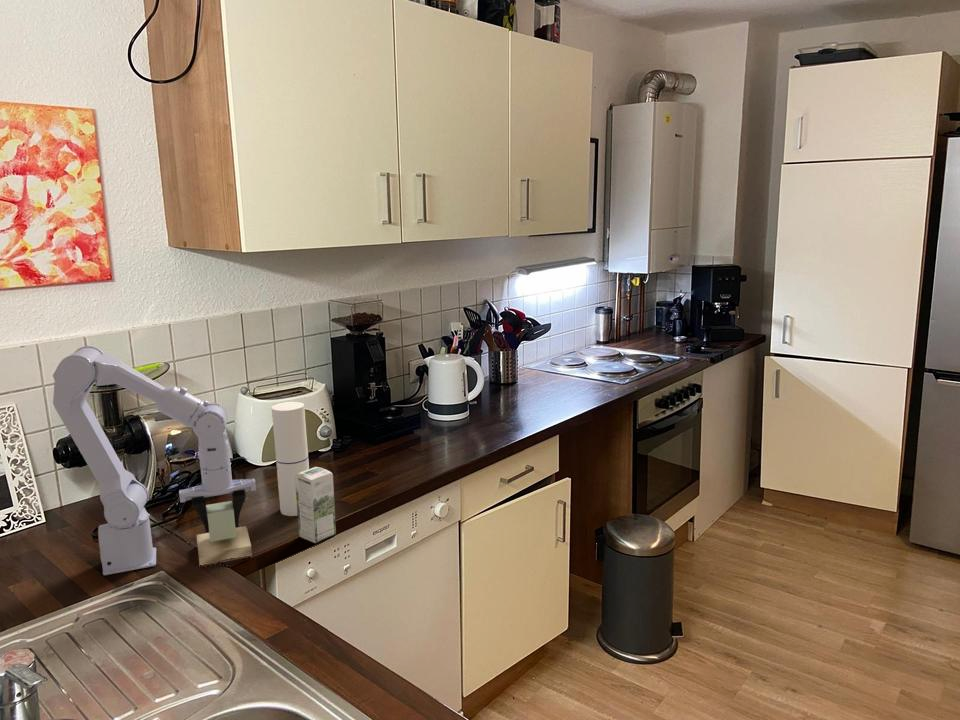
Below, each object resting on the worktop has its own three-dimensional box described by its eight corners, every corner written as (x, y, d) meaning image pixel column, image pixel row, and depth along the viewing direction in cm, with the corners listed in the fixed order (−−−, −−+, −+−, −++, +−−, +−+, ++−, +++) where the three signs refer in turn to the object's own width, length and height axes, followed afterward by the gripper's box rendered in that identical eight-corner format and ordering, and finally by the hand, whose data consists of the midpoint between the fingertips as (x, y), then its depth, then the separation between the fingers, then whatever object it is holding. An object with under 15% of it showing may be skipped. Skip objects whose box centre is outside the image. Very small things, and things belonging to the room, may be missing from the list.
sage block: (210, 541, 150) (207, 513, 149) (209, 532, 155) (206, 505, 154) (236, 537, 152) (233, 509, 151) (234, 527, 157) (231, 500, 156)
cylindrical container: (292, 518, 169) (283, 412, 164) (274, 510, 174) (265, 406, 168) (318, 508, 174) (310, 405, 169) (300, 500, 179) (292, 400, 173)
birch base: (200, 569, 148) (198, 555, 147) (198, 548, 157) (196, 534, 156) (252, 559, 152) (251, 545, 151) (247, 538, 161) (246, 526, 160)
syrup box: (319, 527, 164) (315, 465, 161) (337, 534, 161) (332, 471, 157) (298, 537, 160) (293, 473, 157) (316, 544, 156) (311, 479, 153)
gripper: (250, 453, 156) (256, 514, 159) (176, 464, 151) (183, 526, 154) (254, 464, 150) (260, 527, 153) (176, 476, 145) (184, 541, 148)
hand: (222, 528), depth 153 cm, fingers closed on sage block, 5 cm apart
